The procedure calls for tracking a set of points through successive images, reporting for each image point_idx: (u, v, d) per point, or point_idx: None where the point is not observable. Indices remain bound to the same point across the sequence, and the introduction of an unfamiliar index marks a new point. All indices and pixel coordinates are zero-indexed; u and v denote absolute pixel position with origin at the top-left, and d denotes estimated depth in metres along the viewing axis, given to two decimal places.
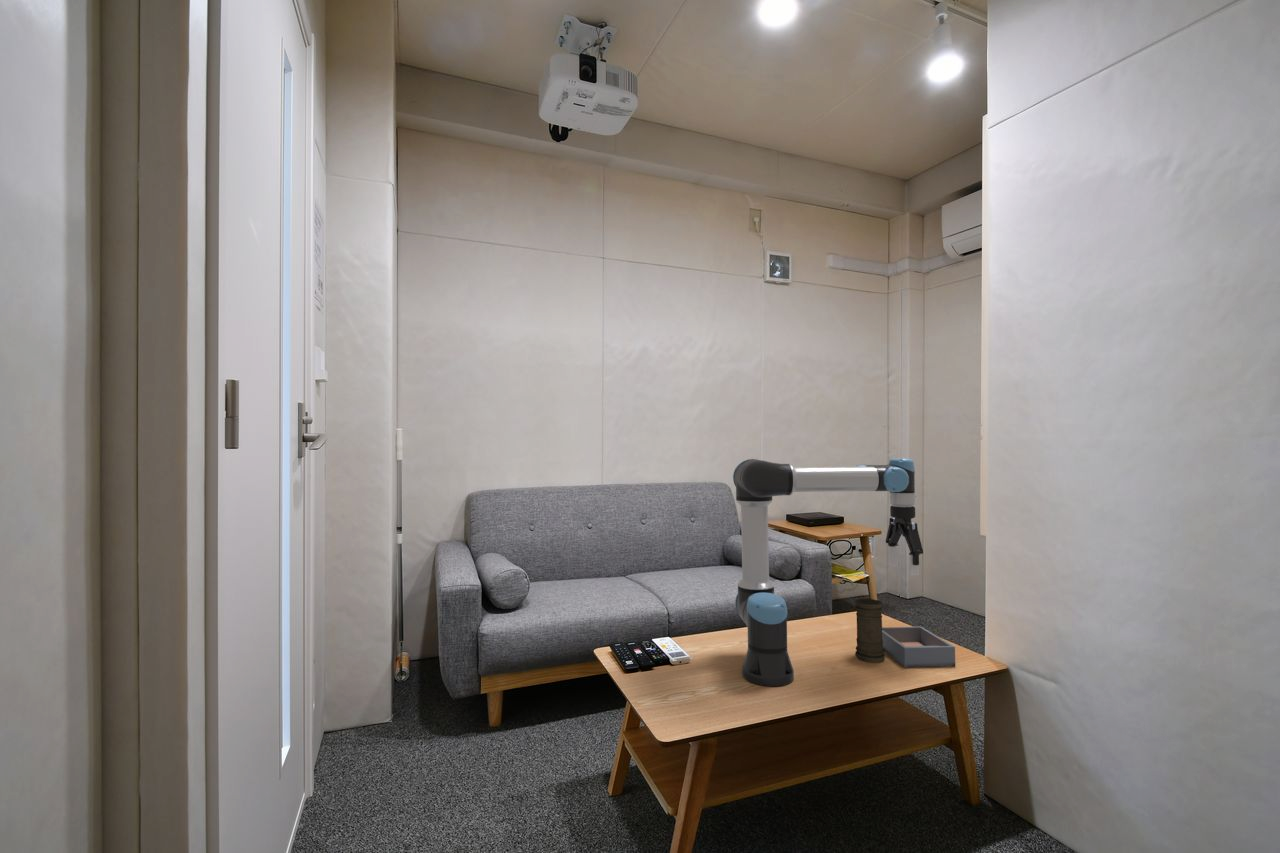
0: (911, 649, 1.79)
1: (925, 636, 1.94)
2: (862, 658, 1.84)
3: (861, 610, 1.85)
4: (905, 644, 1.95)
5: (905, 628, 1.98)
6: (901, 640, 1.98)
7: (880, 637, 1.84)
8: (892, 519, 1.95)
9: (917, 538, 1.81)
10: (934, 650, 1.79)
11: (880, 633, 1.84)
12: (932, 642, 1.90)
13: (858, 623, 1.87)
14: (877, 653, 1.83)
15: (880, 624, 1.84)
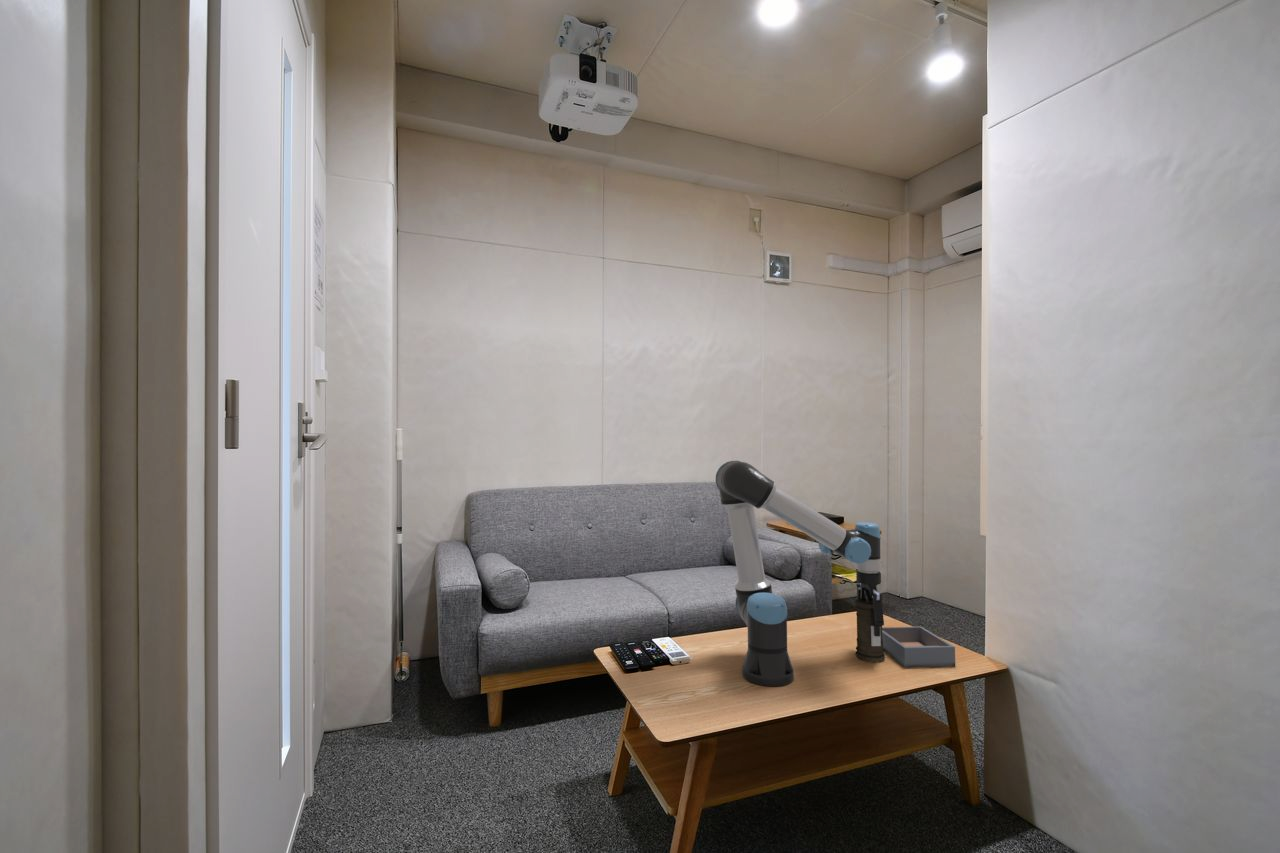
0: (911, 649, 1.79)
1: (925, 636, 1.94)
2: (862, 658, 1.84)
3: (861, 610, 1.85)
4: (905, 644, 1.95)
5: (905, 628, 1.98)
6: (901, 640, 1.98)
7: None
8: (859, 585, 1.93)
9: (880, 610, 1.81)
10: (934, 650, 1.79)
11: (880, 633, 1.84)
12: (932, 642, 1.90)
13: (858, 623, 1.87)
14: (877, 653, 1.83)
15: None
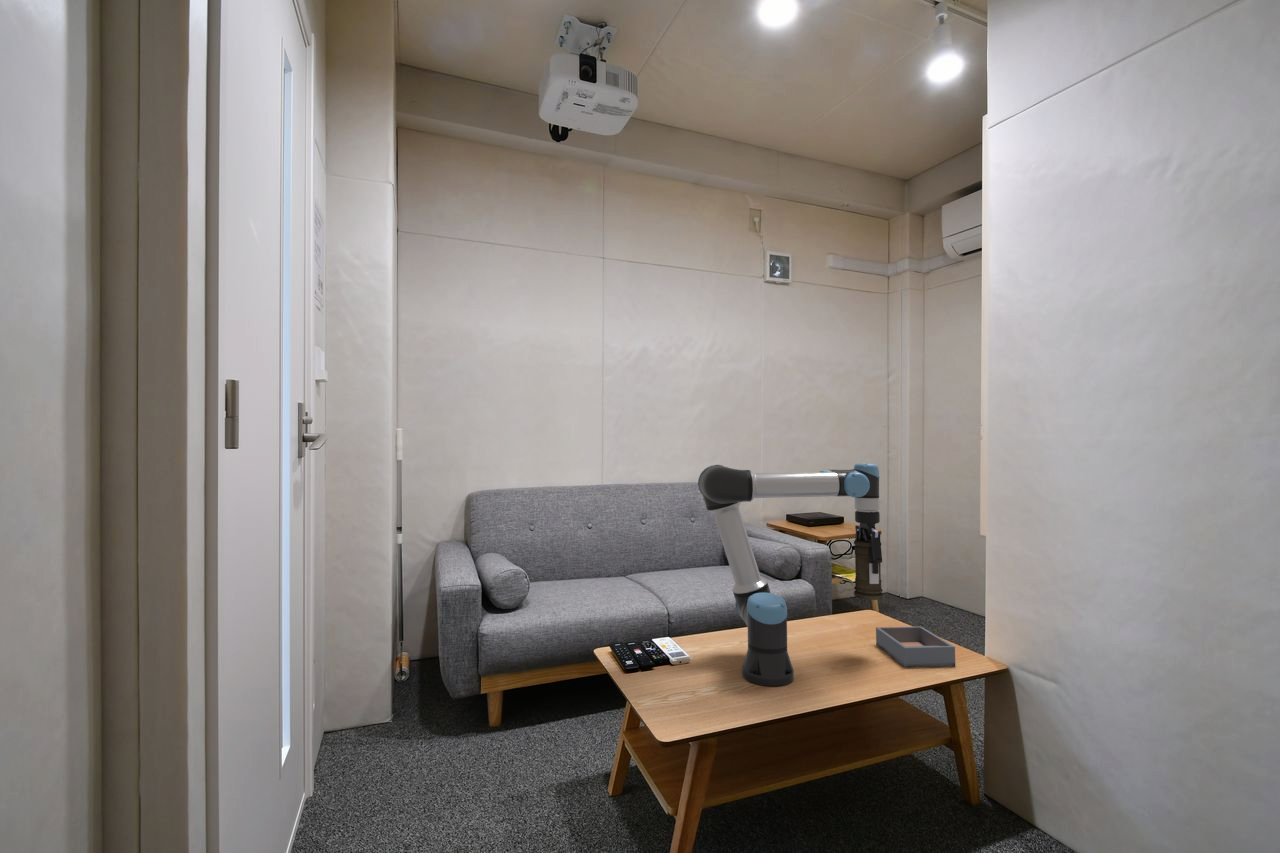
0: (911, 649, 1.79)
1: (925, 636, 1.94)
2: (860, 596, 1.85)
3: (860, 549, 1.86)
4: (905, 644, 1.95)
5: (905, 628, 1.98)
6: (901, 640, 1.98)
7: None
8: (857, 526, 1.94)
9: (878, 547, 1.81)
10: (934, 650, 1.79)
11: None
12: (932, 642, 1.90)
13: (857, 562, 1.87)
14: (875, 591, 1.83)
15: None
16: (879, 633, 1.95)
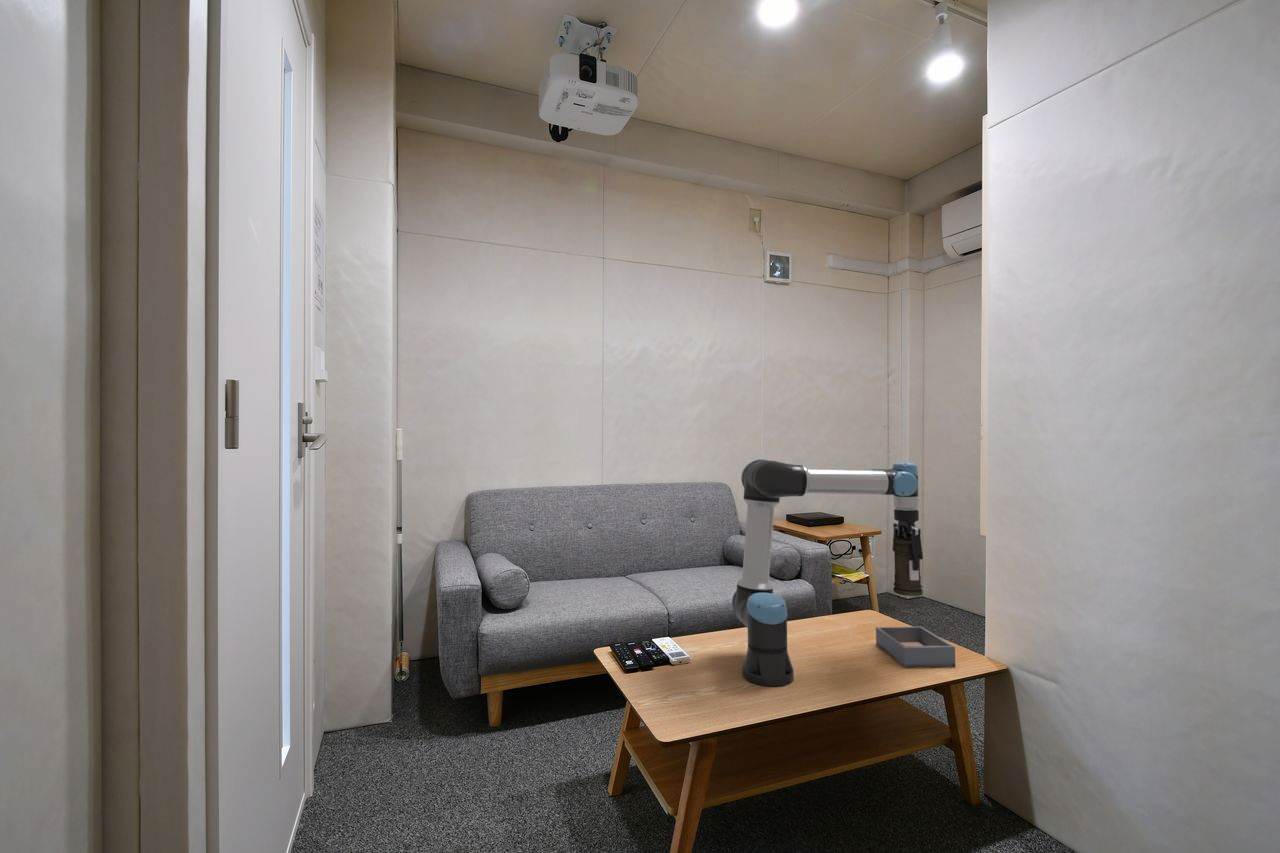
0: (911, 649, 1.79)
1: (925, 636, 1.94)
2: (901, 592, 1.90)
3: (899, 546, 1.91)
4: (905, 644, 1.95)
5: (905, 628, 1.98)
6: (901, 640, 1.98)
7: None
8: (896, 524, 1.98)
9: (918, 544, 1.86)
10: (934, 650, 1.79)
11: None
12: (932, 642, 1.90)
13: (896, 559, 1.92)
14: (915, 587, 1.88)
15: None
16: (879, 633, 1.95)
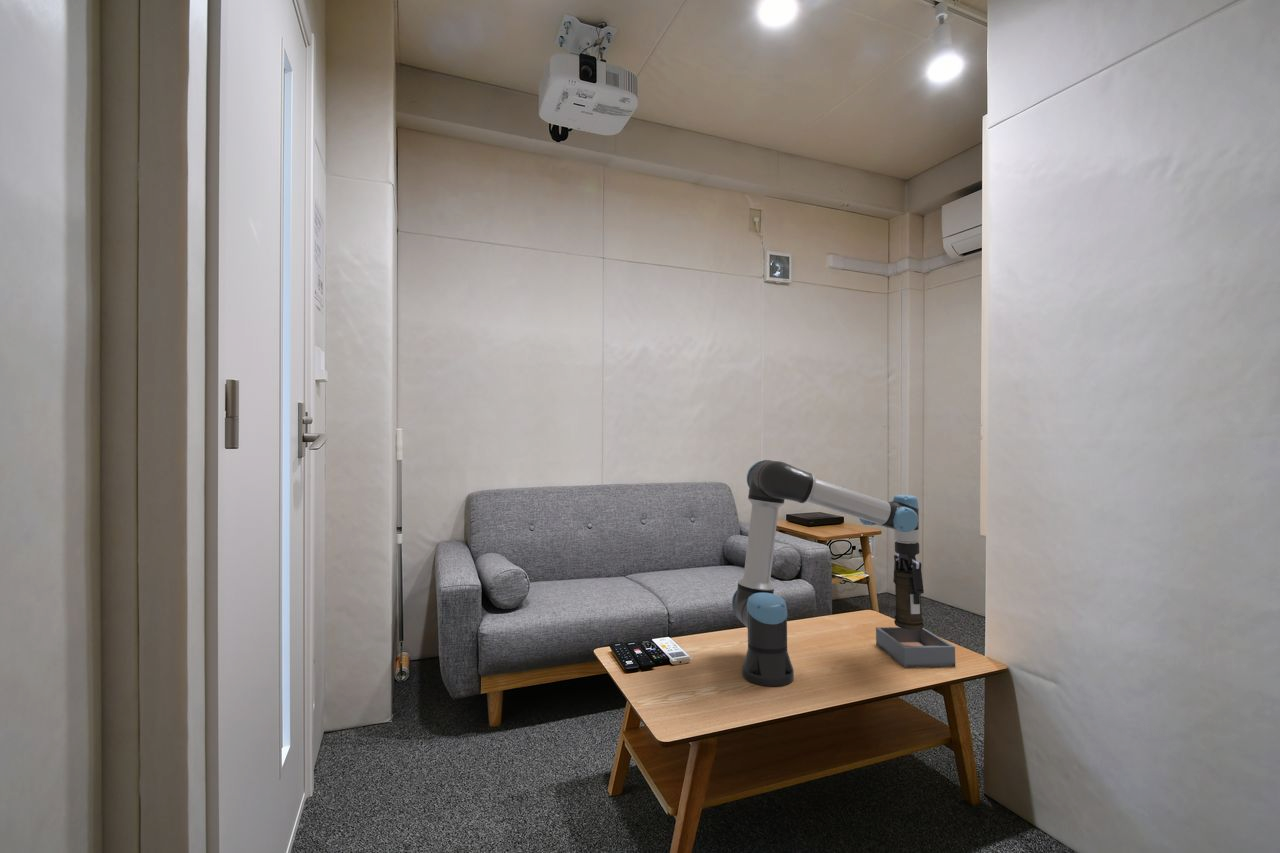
0: (911, 649, 1.79)
1: (925, 636, 1.94)
2: (902, 626, 1.89)
3: (900, 579, 1.90)
4: (905, 644, 1.95)
5: None
6: (901, 640, 1.98)
7: None
8: (896, 556, 1.98)
9: (919, 578, 1.85)
10: (934, 650, 1.79)
11: None
12: (932, 642, 1.90)
13: (897, 592, 1.92)
14: (916, 621, 1.88)
15: None
16: (879, 633, 1.95)
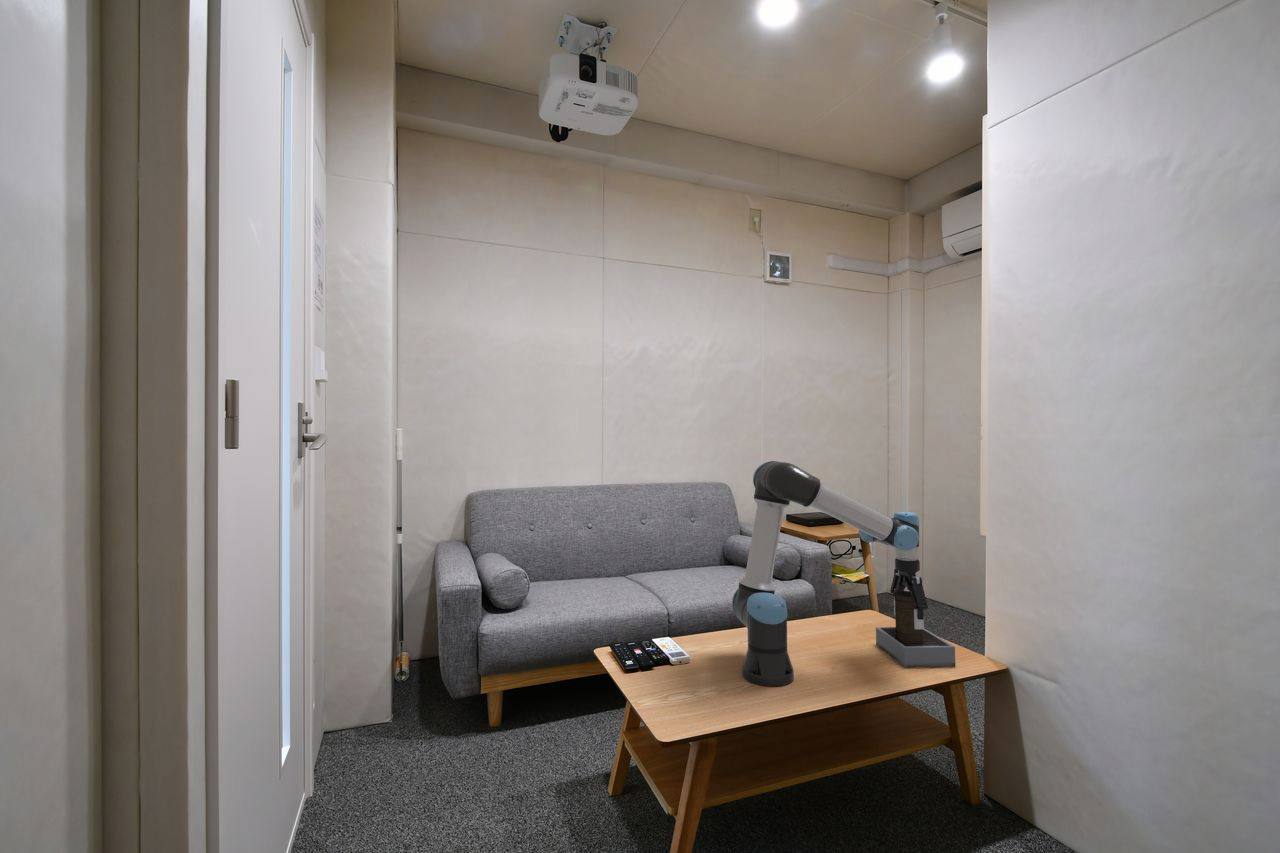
0: (911, 649, 1.79)
1: (925, 636, 1.94)
2: None
3: (900, 602, 1.90)
4: None
5: None
6: None
7: None
8: (897, 570, 1.98)
9: (922, 593, 1.84)
10: (934, 650, 1.79)
11: None
12: (932, 642, 1.90)
13: (897, 615, 1.91)
14: (916, 644, 1.87)
15: None
16: (879, 633, 1.95)
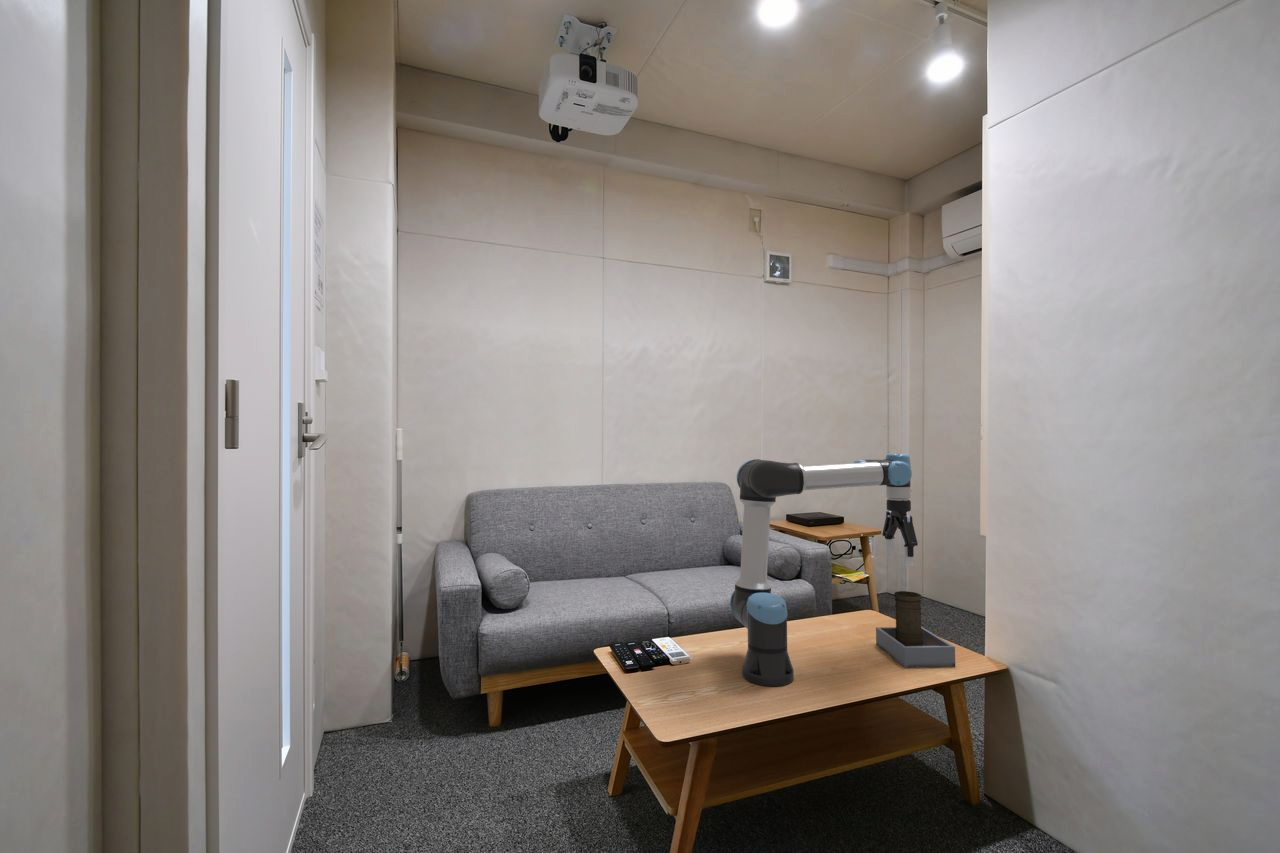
0: (911, 649, 1.79)
1: (925, 636, 1.94)
2: None
3: (901, 602, 1.90)
4: None
5: None
6: None
7: (919, 628, 1.89)
8: (889, 512, 2.00)
9: (912, 530, 1.86)
10: (934, 650, 1.79)
11: (919, 624, 1.89)
12: (932, 642, 1.90)
13: (897, 615, 1.91)
14: (916, 644, 1.87)
15: (919, 616, 1.89)
16: (879, 633, 1.95)
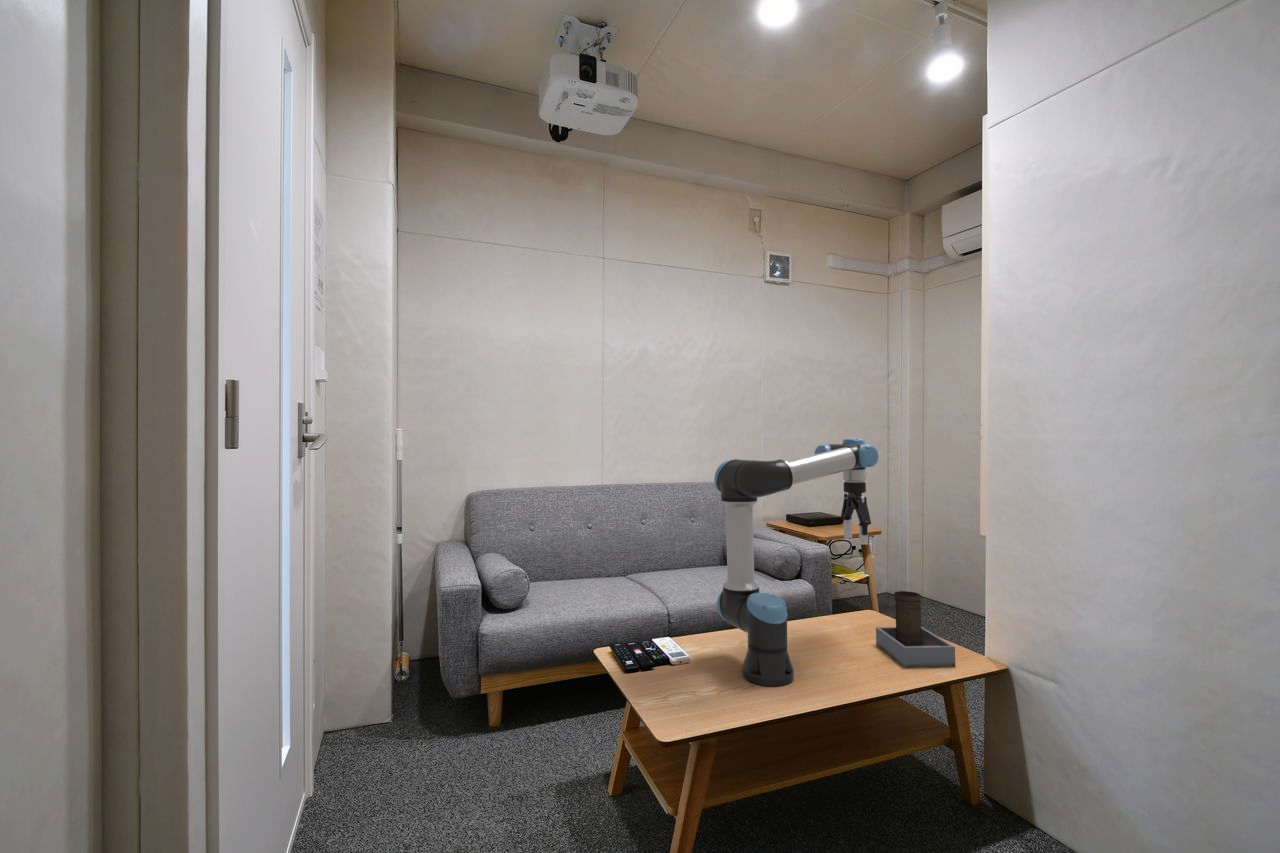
0: (911, 649, 1.79)
1: (925, 636, 1.94)
2: None
3: (900, 602, 1.90)
4: None
5: None
6: None
7: (919, 628, 1.89)
8: (846, 494, 2.11)
9: (866, 510, 1.97)
10: (934, 650, 1.79)
11: (919, 624, 1.89)
12: (932, 642, 1.90)
13: (897, 615, 1.91)
14: (916, 644, 1.87)
15: (919, 616, 1.89)
16: (879, 633, 1.95)
